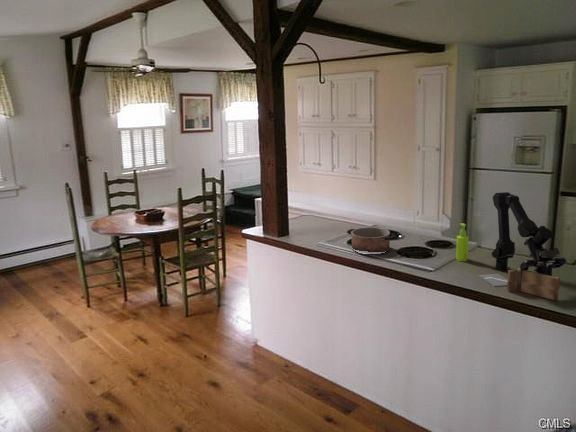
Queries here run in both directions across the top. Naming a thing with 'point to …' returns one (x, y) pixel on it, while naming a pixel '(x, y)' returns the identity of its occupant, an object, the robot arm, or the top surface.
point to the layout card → (495, 279)
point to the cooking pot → (371, 239)
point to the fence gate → (540, 285)
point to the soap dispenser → (462, 245)
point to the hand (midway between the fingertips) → (550, 281)
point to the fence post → (514, 280)
